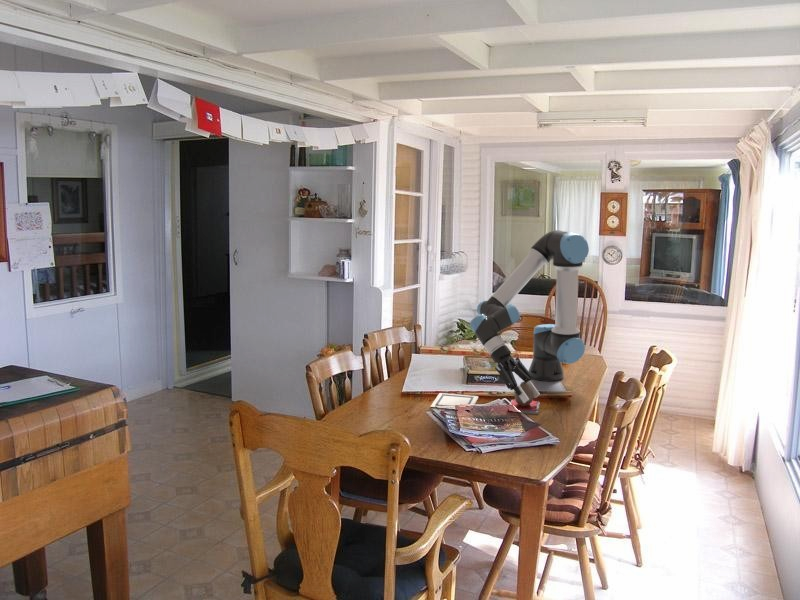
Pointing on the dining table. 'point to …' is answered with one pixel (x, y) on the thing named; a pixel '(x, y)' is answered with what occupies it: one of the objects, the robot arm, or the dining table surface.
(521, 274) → the robot arm
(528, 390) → the brown egg
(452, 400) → the marked card
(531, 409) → the ink pad
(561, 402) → the dining table surface
